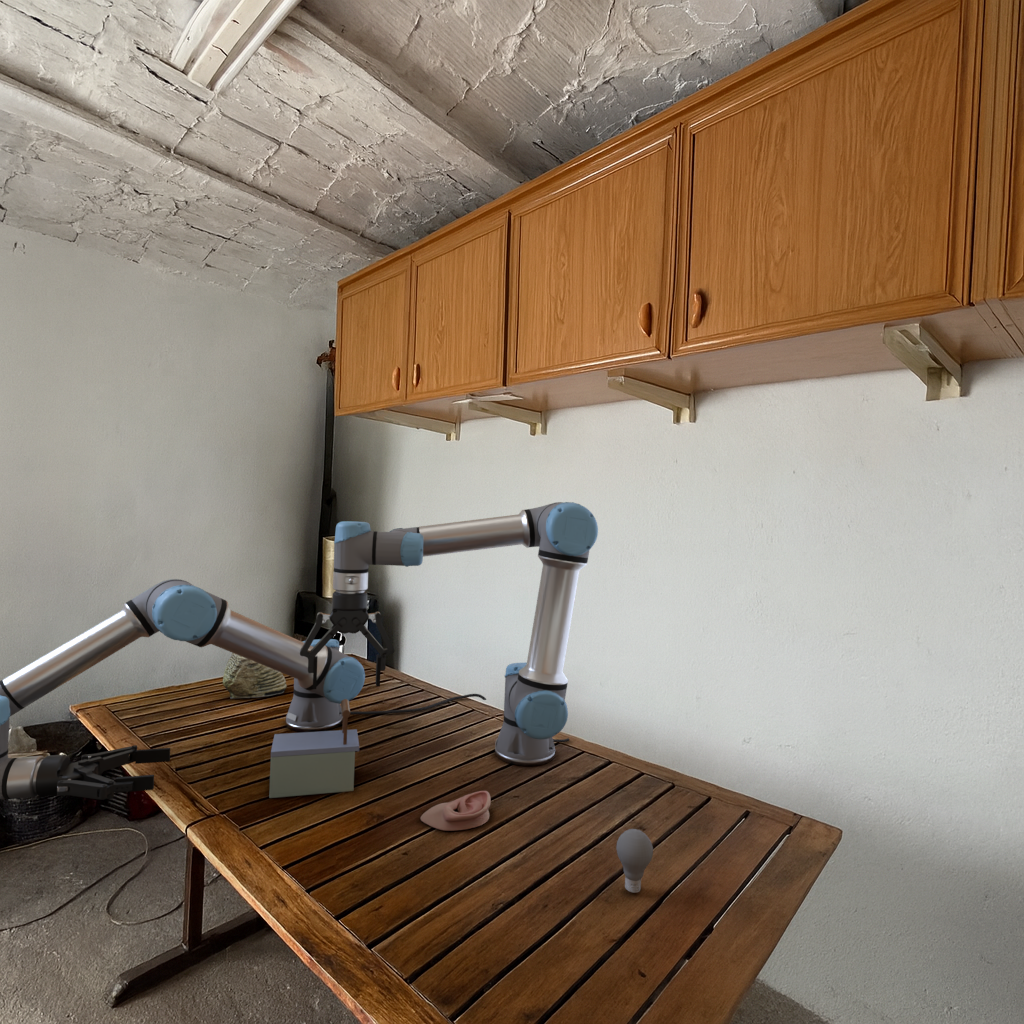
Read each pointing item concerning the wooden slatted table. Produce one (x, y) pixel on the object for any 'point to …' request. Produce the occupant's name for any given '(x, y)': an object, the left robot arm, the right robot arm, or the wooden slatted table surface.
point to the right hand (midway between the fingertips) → (346, 686)
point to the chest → (311, 774)
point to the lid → (317, 740)
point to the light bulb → (634, 857)
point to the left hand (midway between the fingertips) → (162, 767)
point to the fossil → (251, 679)
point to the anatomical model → (459, 812)
